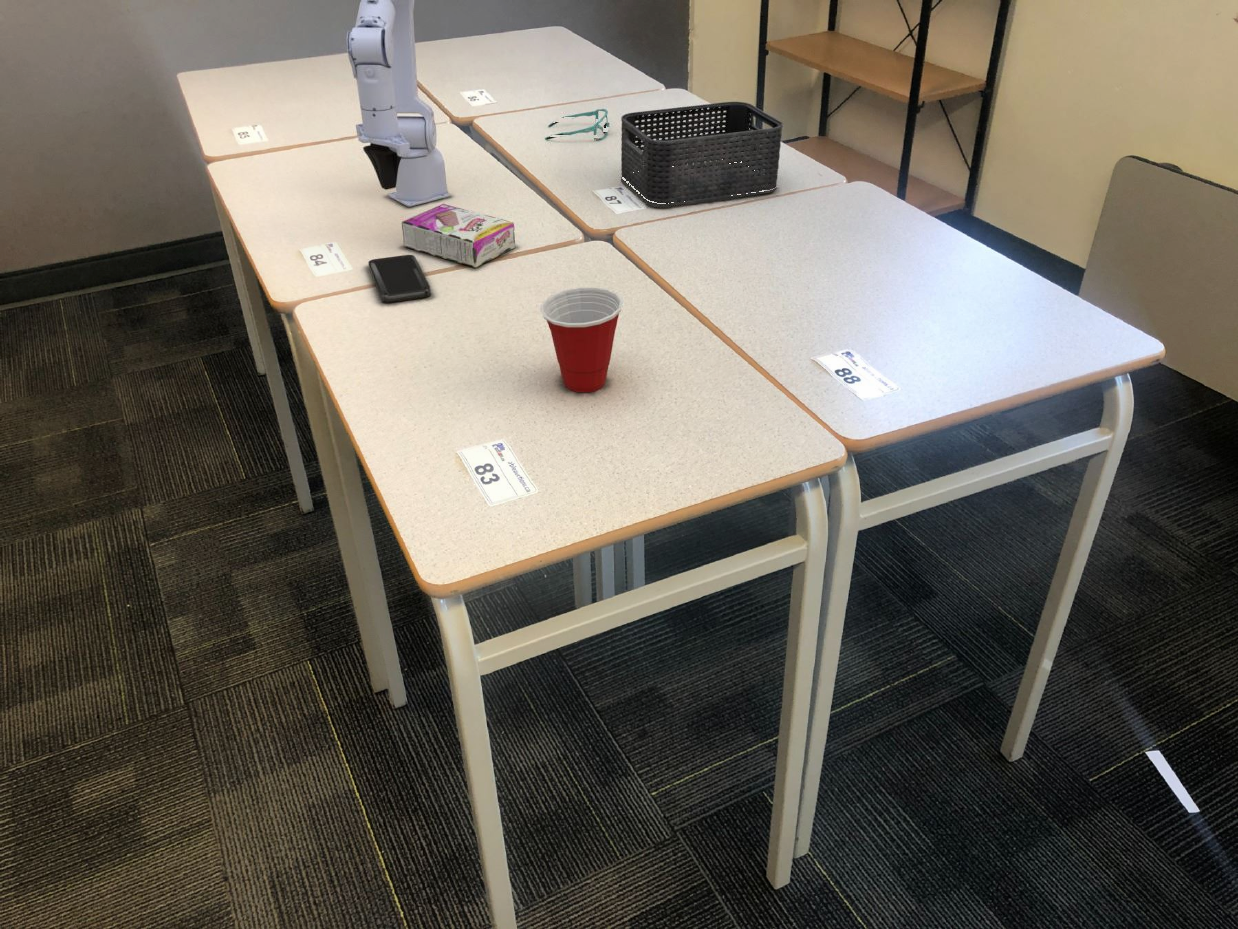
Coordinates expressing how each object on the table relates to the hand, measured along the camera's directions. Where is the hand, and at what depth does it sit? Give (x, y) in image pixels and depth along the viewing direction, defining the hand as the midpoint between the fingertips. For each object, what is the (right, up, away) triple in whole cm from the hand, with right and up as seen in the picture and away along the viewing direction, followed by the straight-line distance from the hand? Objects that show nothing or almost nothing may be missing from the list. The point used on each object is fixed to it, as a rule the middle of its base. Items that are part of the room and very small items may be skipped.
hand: (388, 187), depth 164 cm
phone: (+4, -18, -9) cm, 20 cm away
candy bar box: (+5, -5, +5) cm, 8 cm away
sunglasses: (+30, +29, +58) cm, 71 cm away
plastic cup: (+35, -37, -34) cm, 61 cm away
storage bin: (+56, +9, +30) cm, 64 cm away
